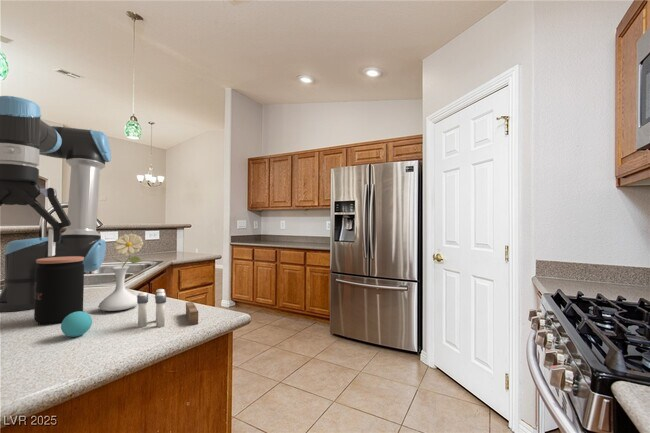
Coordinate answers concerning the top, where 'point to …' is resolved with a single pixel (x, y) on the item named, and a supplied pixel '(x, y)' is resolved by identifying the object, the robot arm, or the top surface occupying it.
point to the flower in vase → (123, 275)
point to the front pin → (142, 309)
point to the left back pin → (158, 292)
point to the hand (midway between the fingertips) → (14, 257)
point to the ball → (76, 324)
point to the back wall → (192, 313)
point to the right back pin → (160, 309)
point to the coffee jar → (58, 288)
